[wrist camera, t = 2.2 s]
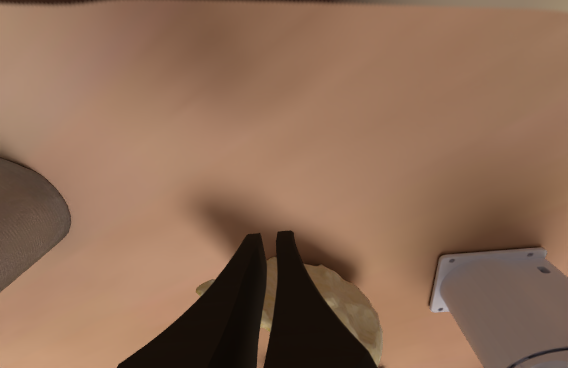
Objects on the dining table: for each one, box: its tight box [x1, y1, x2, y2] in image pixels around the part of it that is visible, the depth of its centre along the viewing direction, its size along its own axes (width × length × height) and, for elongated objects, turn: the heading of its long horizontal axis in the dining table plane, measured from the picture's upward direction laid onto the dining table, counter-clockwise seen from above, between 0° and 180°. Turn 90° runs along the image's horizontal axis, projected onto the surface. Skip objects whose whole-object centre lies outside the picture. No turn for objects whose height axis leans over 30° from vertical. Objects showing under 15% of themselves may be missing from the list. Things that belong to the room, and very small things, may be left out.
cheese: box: [196, 257, 383, 367], centre depth 24 cm, size 15×7×15 cm
